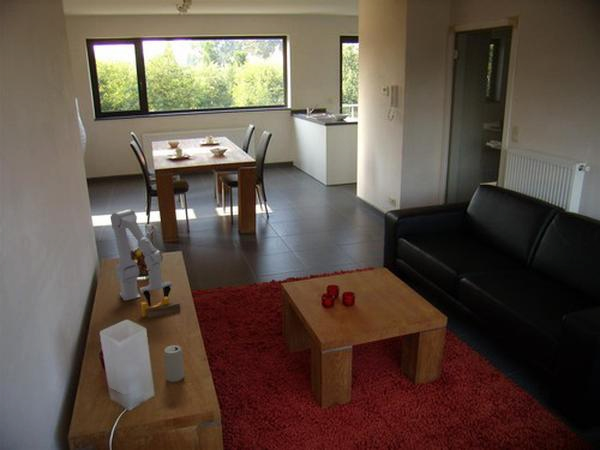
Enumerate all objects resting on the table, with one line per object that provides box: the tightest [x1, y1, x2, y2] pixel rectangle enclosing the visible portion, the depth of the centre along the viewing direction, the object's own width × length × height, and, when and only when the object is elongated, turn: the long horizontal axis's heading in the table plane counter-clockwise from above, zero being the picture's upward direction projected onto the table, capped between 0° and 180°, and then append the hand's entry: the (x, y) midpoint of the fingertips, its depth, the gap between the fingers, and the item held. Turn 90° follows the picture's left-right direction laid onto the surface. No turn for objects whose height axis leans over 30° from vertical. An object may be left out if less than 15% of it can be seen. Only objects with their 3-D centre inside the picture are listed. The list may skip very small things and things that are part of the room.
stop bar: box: [146, 301, 181, 319], centre depth 230 cm, size 2×15×4 cm, turn 123°
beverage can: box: [163, 344, 185, 383], centre depth 180 cm, size 6×6×12 cm
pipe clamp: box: [140, 296, 170, 318], centre depth 231 cm, size 12×4×6 cm, turn 123°
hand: (157, 303), depth 237 cm, fingers open, 7 cm apart
